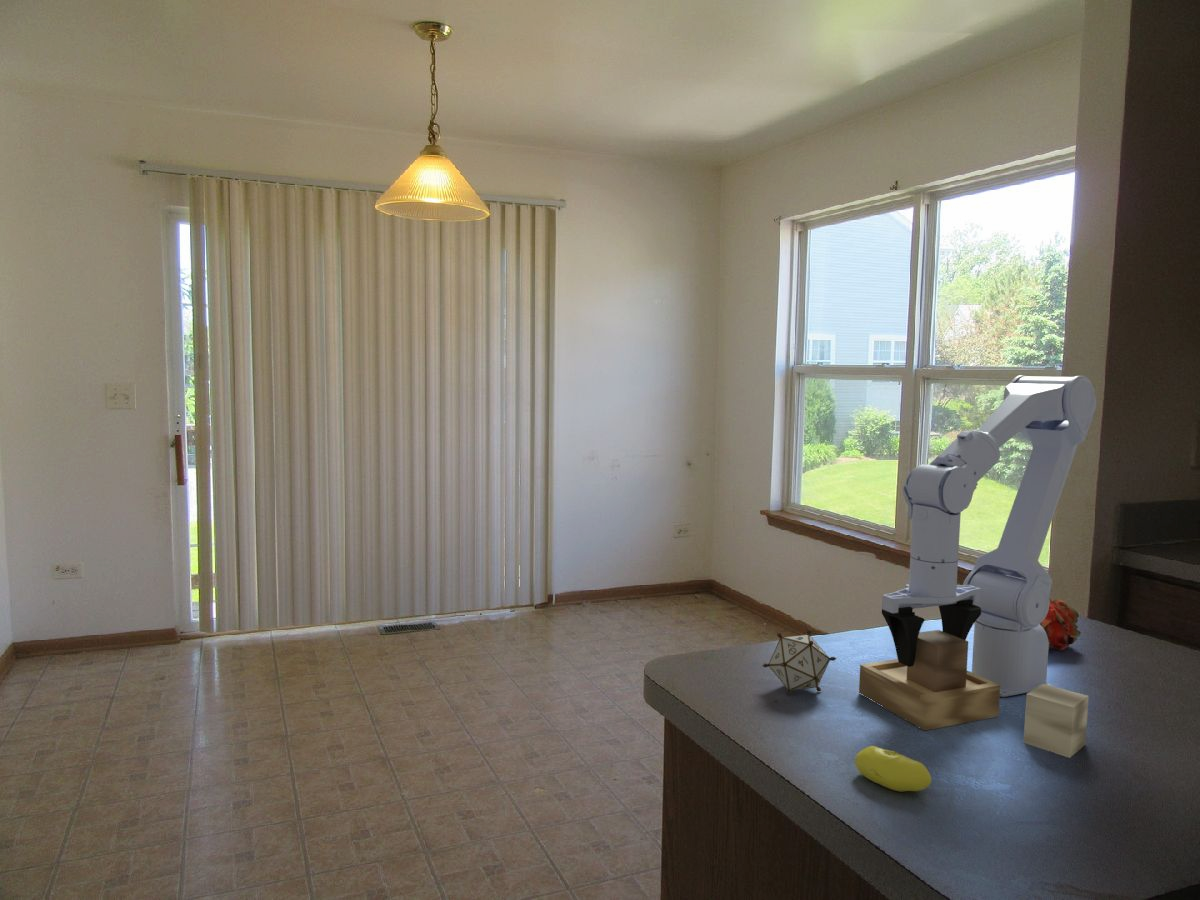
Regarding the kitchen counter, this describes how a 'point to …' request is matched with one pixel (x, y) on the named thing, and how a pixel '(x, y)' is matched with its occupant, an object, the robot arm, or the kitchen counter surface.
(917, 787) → the yellow oval lump
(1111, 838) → the kitchen counter surface
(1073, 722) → the maple cube
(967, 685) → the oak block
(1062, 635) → the dragon fruit
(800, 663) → the game die
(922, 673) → the walnut cube
